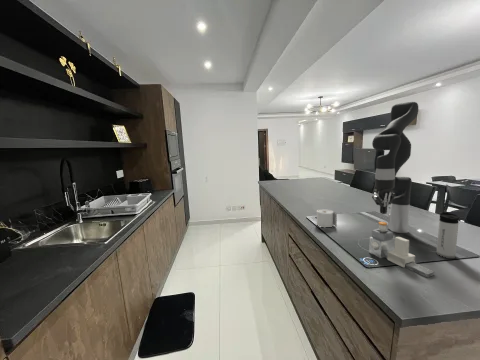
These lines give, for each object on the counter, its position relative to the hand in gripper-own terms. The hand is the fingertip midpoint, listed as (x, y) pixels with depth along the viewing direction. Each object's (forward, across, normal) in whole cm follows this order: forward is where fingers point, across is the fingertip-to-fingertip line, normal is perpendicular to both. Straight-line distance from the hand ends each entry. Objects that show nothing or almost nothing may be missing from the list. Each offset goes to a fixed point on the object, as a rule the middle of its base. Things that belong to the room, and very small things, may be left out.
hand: (383, 213), depth 99 cm
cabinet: (+20, 0, 0) cm, 20 cm away
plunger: (+9, 0, 0) cm, 9 cm away
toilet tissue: (+21, -2, -41) cm, 46 cm away
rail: (+20, 0, +12) cm, 24 cm away
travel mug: (+21, -24, +13) cm, 34 cm away
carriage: (+20, 0, +9) cm, 22 cm away
